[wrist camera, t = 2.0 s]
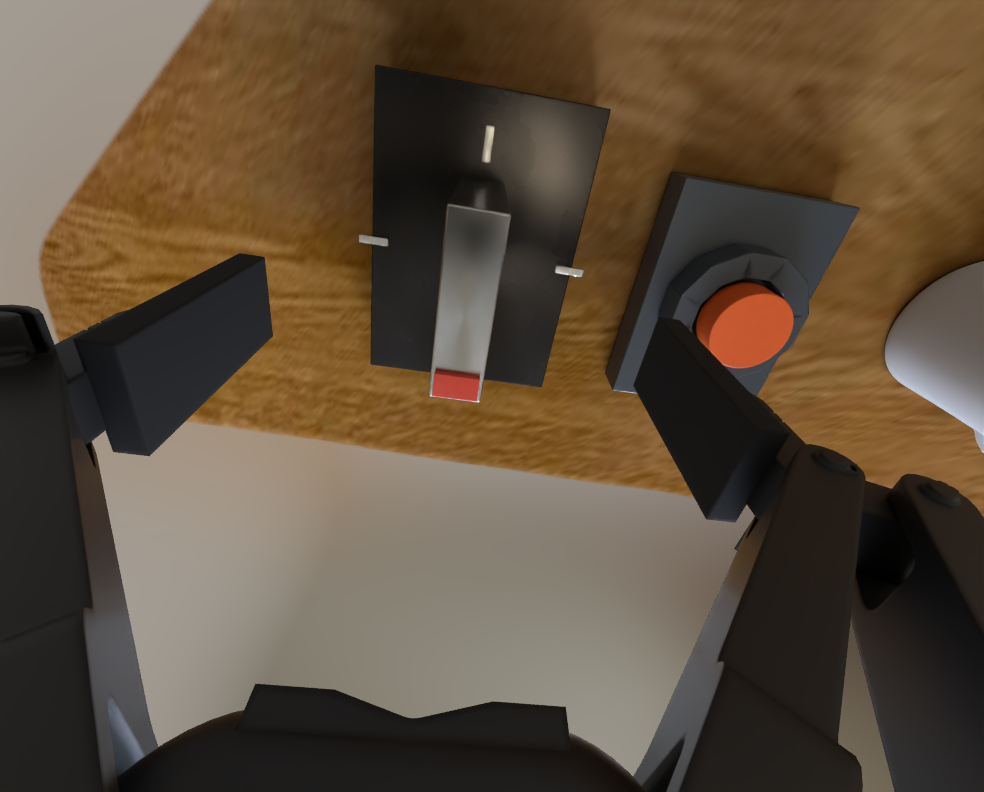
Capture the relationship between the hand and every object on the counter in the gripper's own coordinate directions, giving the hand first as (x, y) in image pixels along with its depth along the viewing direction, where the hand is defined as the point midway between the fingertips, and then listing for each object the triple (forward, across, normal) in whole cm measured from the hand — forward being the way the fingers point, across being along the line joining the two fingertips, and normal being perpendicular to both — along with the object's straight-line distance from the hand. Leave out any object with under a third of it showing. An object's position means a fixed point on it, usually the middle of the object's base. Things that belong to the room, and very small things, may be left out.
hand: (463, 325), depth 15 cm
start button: (+8, +14, -1) cm, 16 cm away
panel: (+12, 0, 0) cm, 12 cm away
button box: (+12, +14, -1) cm, 18 cm away
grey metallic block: (+8, 0, 0) cm, 8 cm away
